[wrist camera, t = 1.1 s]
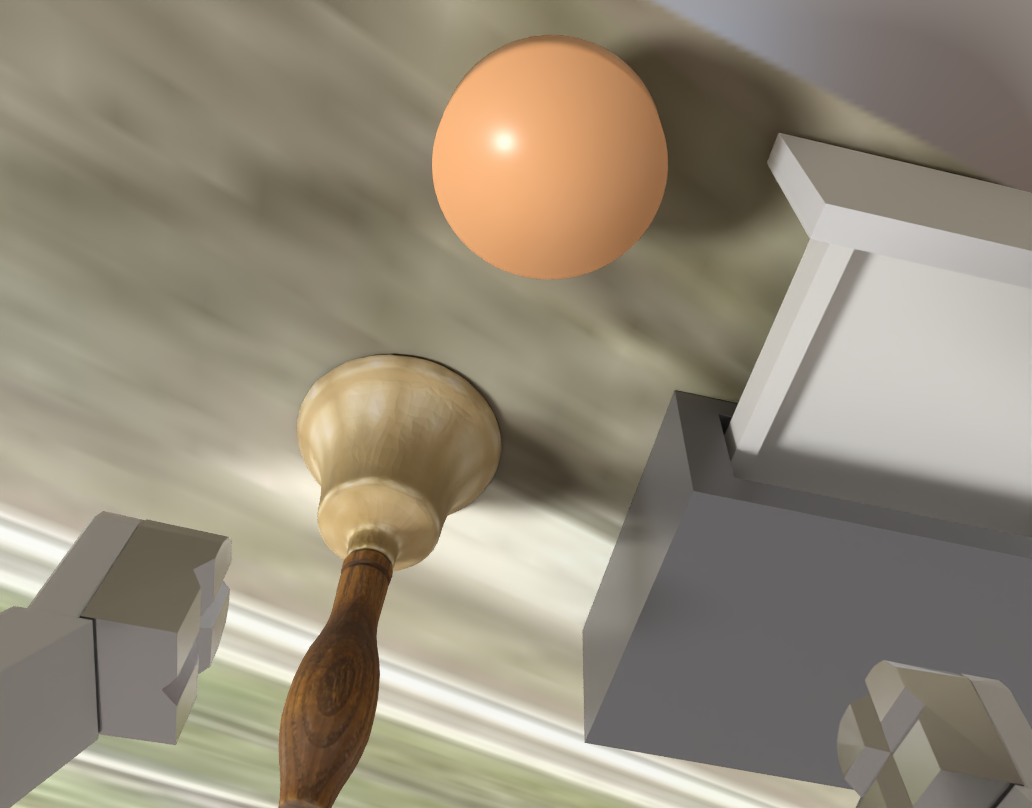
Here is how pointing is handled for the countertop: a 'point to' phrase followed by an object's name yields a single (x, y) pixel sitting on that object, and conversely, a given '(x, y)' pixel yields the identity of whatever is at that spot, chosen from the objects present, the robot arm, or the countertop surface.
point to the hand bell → (373, 538)
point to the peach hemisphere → (550, 158)
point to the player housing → (782, 610)
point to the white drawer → (897, 343)
